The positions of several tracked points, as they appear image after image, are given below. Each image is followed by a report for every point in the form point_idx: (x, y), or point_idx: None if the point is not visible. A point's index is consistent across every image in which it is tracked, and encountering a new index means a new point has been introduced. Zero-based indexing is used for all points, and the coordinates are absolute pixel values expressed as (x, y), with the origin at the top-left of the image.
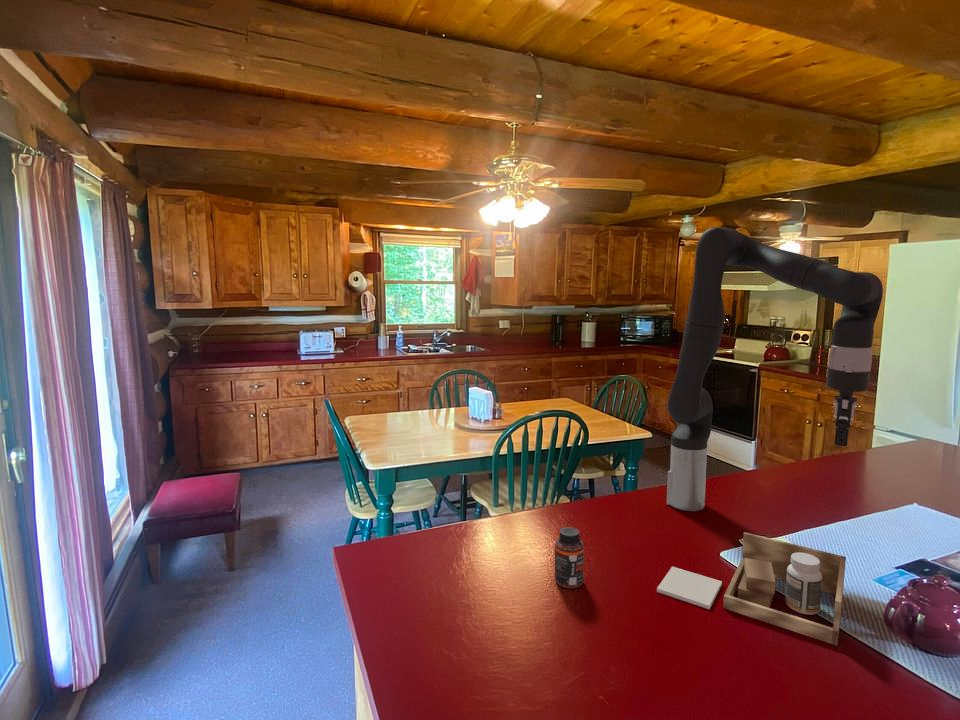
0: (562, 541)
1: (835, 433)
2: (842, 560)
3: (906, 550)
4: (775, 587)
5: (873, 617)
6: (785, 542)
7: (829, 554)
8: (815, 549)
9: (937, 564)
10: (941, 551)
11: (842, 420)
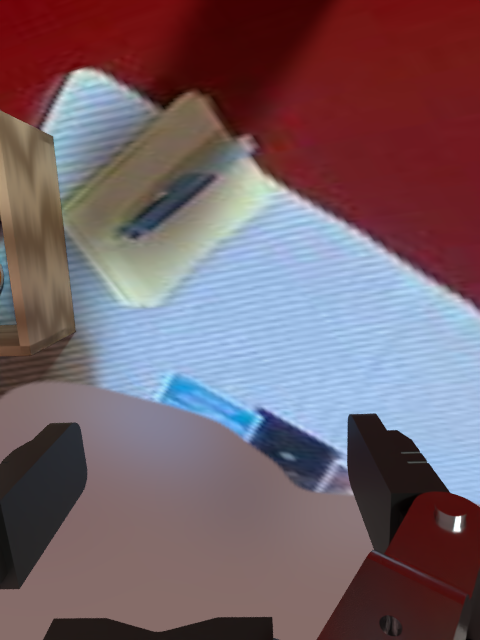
0: None
1: (5, 467)
2: (6, 350)
3: None
4: None
5: (31, 378)
6: (10, 222)
7: (17, 323)
8: (22, 292)
9: (326, 474)
10: None
11: (386, 529)
